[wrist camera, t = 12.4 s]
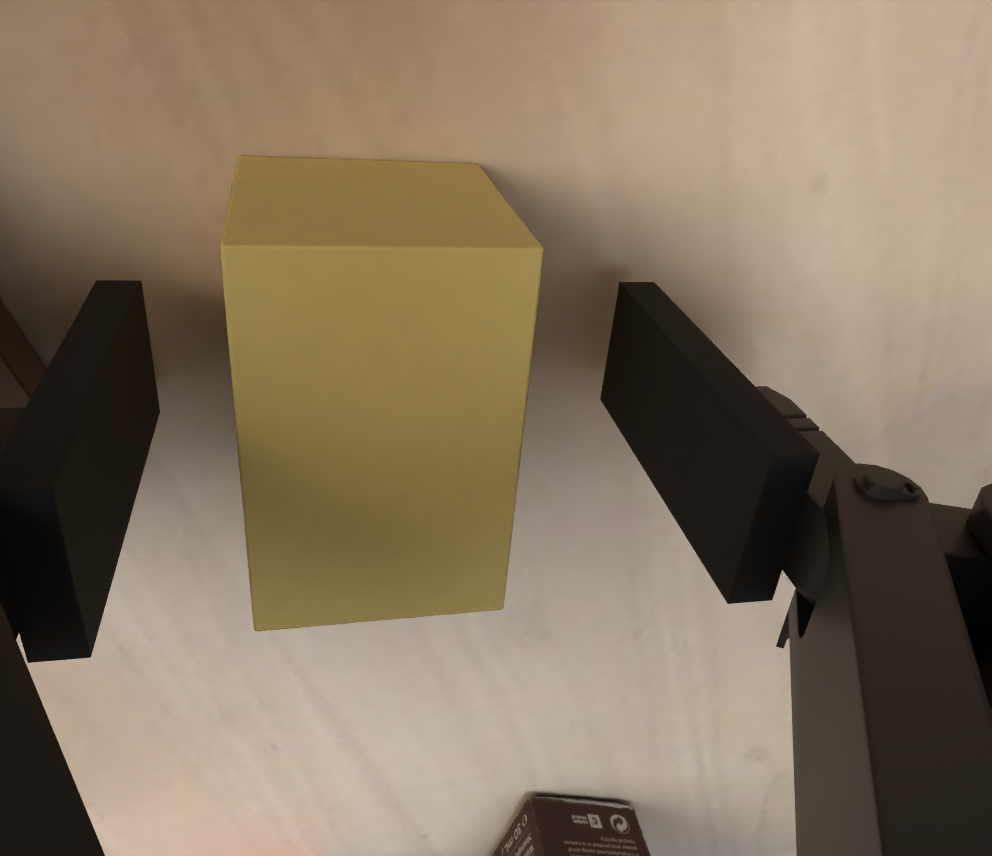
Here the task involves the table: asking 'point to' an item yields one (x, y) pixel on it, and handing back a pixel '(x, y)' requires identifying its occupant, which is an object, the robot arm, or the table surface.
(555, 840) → the box
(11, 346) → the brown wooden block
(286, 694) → the table surface
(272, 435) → the butter
